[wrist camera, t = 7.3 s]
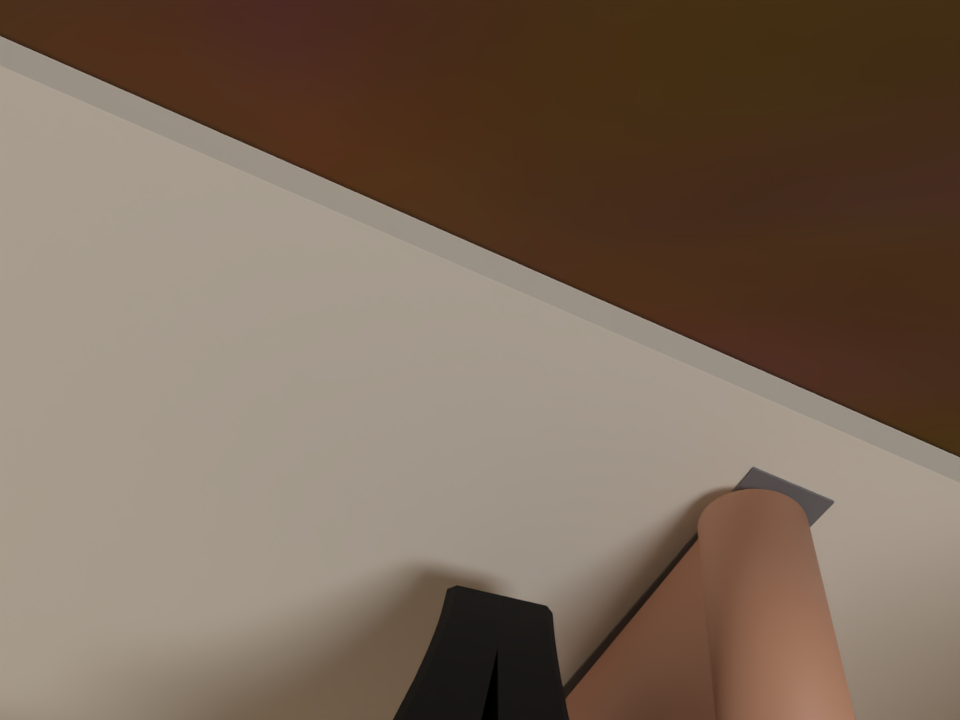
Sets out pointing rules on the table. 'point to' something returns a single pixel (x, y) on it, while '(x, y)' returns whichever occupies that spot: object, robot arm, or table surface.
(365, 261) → the card
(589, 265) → the table surface
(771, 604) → the hinged fence panel
